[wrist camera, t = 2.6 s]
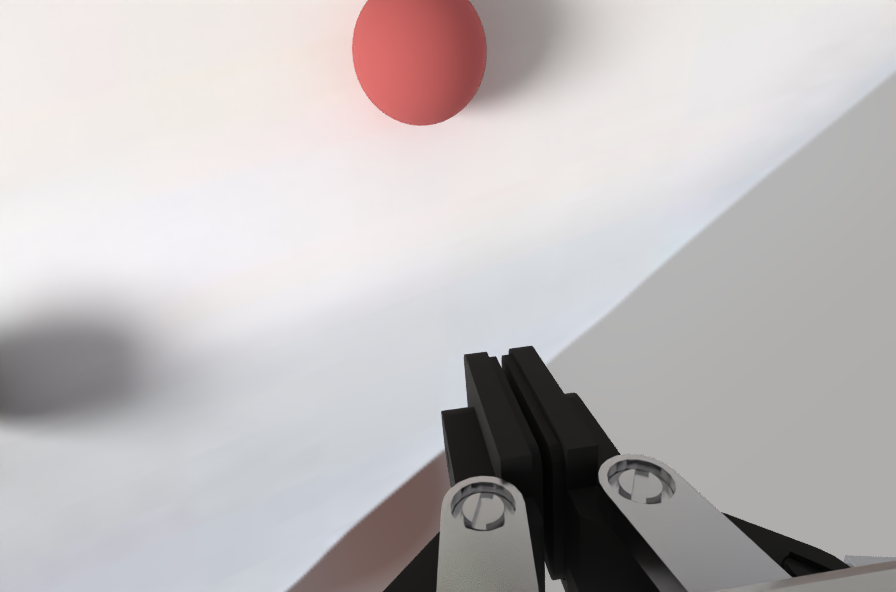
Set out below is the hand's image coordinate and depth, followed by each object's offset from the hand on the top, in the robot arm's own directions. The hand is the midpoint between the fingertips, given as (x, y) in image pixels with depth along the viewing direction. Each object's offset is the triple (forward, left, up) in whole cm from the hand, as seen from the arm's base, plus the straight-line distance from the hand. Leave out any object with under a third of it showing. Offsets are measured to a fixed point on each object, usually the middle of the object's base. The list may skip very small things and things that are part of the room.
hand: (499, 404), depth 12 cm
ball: (-10, 0, -14) cm, 17 cm away
